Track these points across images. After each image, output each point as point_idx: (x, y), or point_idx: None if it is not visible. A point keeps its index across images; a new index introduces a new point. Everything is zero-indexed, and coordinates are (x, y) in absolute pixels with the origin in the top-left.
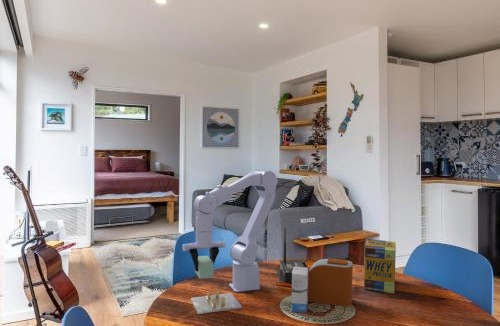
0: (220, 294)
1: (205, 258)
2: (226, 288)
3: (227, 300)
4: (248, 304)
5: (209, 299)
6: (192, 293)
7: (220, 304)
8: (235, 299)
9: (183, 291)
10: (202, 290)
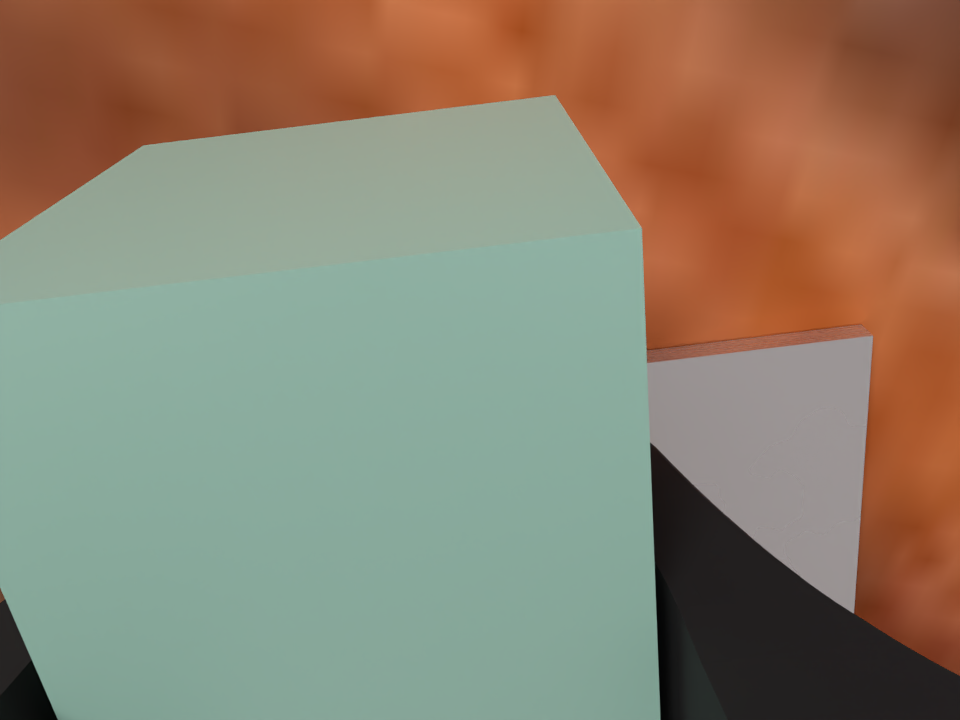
0: (691, 372)
1: (461, 681)
2: (892, 18)
3: None
4: (952, 656)
5: None
6: None
7: None
8: (845, 573)
9: (56, 9)
10: (423, 32)
